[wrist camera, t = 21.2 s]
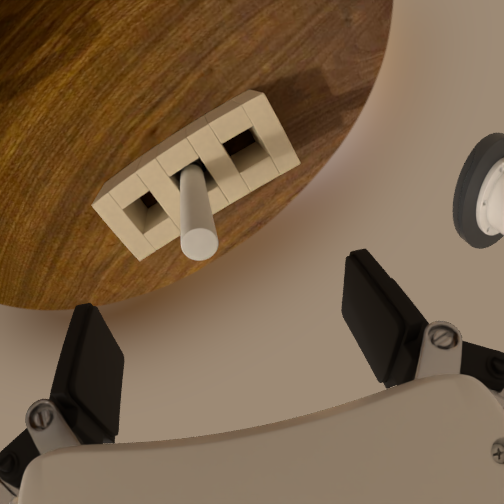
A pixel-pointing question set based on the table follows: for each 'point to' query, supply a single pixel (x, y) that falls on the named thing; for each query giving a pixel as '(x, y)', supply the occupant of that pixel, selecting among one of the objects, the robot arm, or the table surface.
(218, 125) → the pen stand
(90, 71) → the table surface
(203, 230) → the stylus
